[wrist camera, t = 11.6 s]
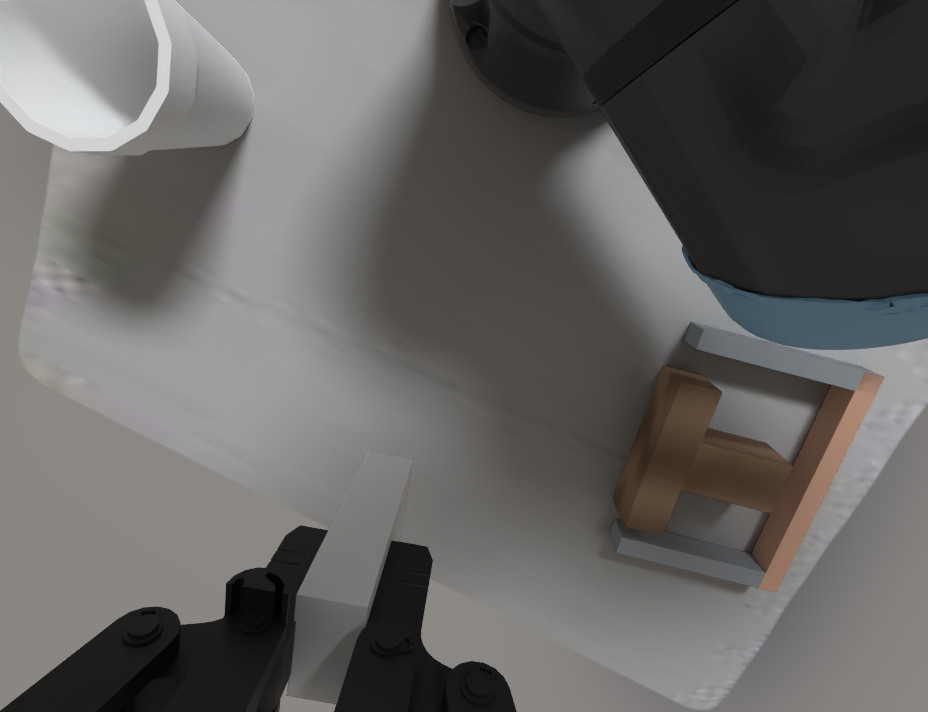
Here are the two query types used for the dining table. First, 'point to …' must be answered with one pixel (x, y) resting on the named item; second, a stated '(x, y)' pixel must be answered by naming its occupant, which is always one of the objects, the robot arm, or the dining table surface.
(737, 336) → the push bay
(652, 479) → the t block
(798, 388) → the dining table surface
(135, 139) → the foam cup
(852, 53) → the robot arm
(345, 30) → the dining table surface
